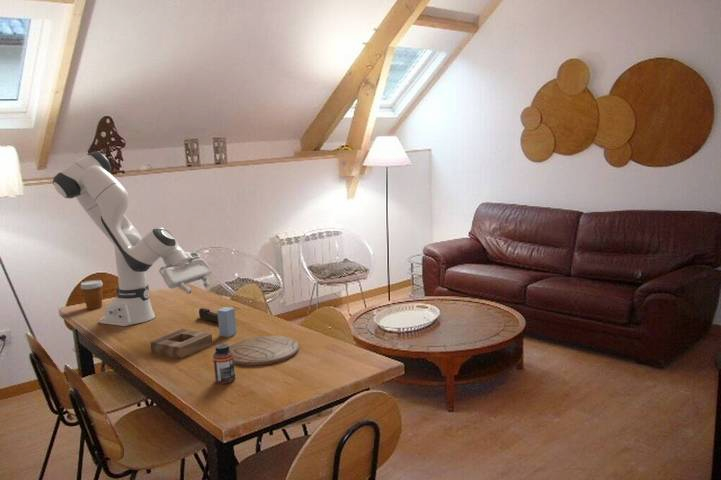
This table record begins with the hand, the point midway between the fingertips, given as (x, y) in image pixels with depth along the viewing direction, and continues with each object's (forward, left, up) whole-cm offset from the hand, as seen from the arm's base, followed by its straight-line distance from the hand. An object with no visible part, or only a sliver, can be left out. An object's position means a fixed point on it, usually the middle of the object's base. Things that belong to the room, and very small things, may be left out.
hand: (199, 289), depth 226 cm
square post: (+12, -2, -17) cm, 21 cm away
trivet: (+33, -18, -17) cm, 41 cm away
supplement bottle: (+31, -42, -17) cm, 55 cm away
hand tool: (-2, +12, -17) cm, 21 cm away
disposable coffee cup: (-69, +26, -17) cm, 76 cm away
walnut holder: (+2, -18, -17) cm, 25 cm away
